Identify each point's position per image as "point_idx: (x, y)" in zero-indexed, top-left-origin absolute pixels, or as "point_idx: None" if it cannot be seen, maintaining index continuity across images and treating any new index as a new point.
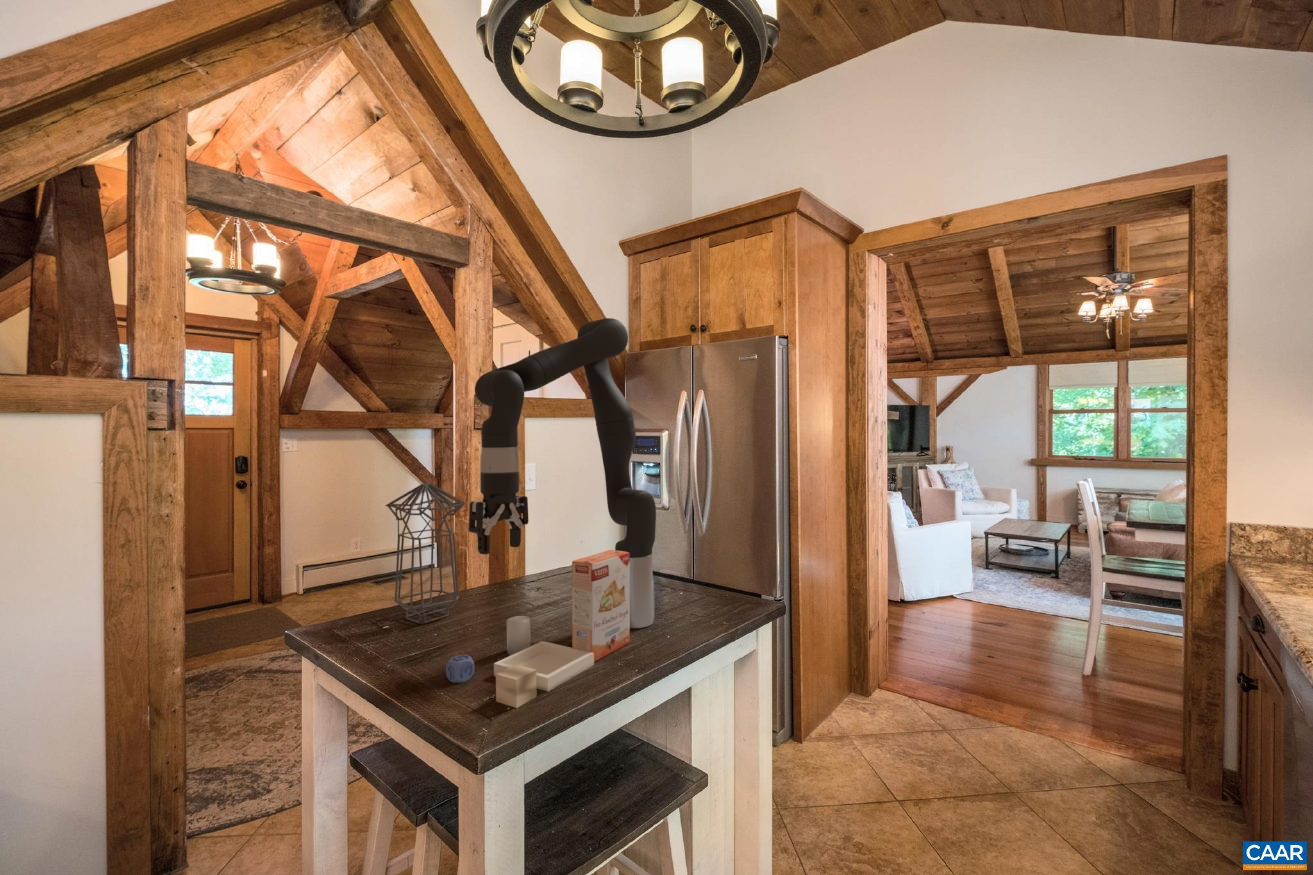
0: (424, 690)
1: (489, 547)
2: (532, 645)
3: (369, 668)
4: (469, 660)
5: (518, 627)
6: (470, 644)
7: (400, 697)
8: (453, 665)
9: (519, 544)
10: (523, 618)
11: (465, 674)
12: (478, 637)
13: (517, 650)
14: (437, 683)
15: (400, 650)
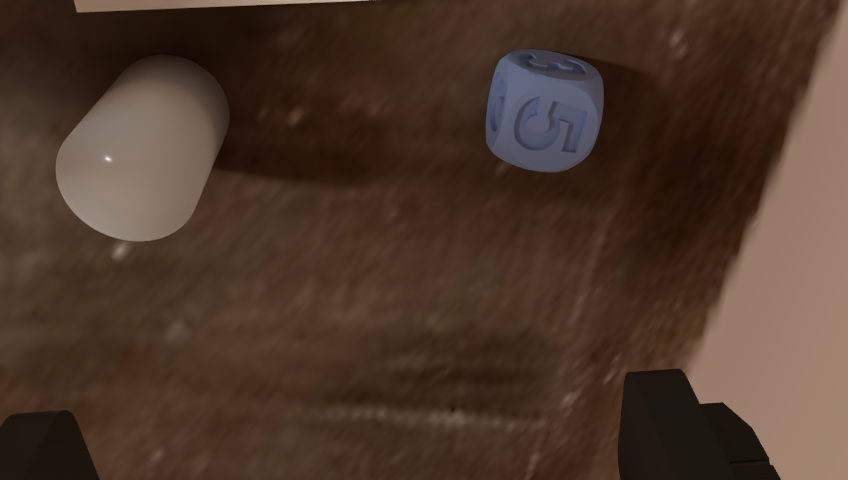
0: (683, 120)
1: (661, 421)
2: (159, 8)
3: (617, 422)
4: (537, 79)
5: (173, 125)
6: (263, 336)
7: (764, 144)
8: (603, 104)
9: (12, 425)
10: (94, 172)
11: (551, 59)
12: (192, 369)
13: (205, 84)
14: (612, 132)
15: (457, 470)
